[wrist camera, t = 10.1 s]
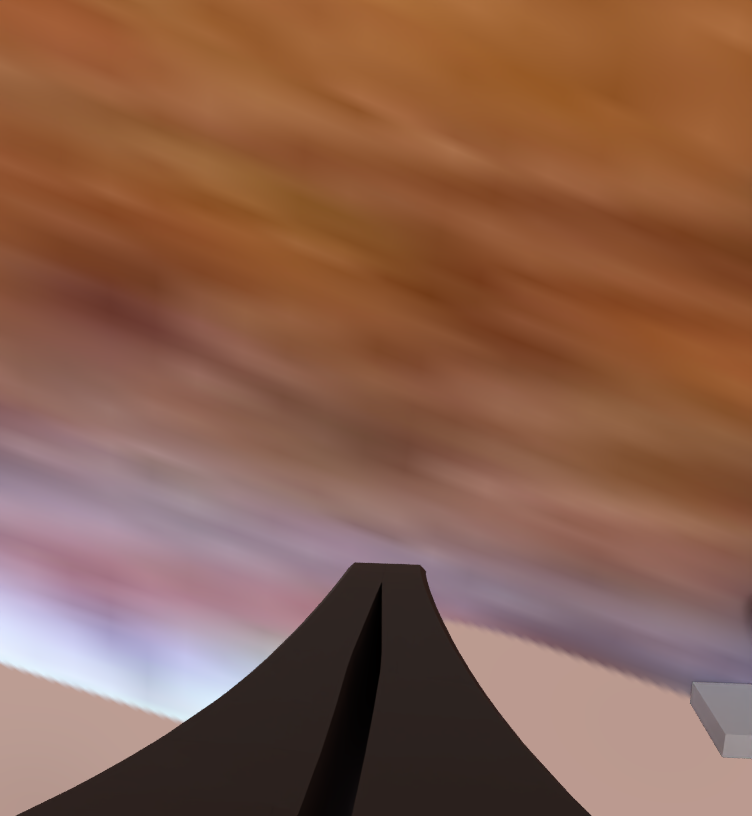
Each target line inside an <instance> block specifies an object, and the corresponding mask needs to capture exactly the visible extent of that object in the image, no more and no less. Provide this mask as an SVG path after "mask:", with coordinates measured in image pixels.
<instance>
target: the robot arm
mask: <svg viewBox="0 0 752 816" xmlns="http://www.w3.org/2000/svg"><path fill="white" fill-rule="evenodd" d="M17 816H591V815H590V814H589V813H588V812H587V811H586V810H585V809H584V808H583V807H582V806H581V805H580V804H579V803H578V802H577V801H576V800H575V799H574V798H573V797H572V796H571V795H570V794H569V793H568V792H567V791H566V789H565V788H564V787H563V786H562V785H561V784H560V783H559V782H558V781H557V780H556V779H555V777H554V776H553V775H552V774H551V773H550V772H549V771H548V770H547V769H546V768H545V766H544V765H543V764H542V763H541V762H540V761H539V760H538V759H537V758H536V757H535V756H534V755H533V753H532V752H531V751H530V750H529V749H528V748H527V747H526V746H525V745H524V743H523V742H522V741H521V740H520V738H519V737H518V736H517V735H516V733H515V732H514V731H513V730H512V729H511V727H510V726H509V724H508V723H507V722H506V721H505V719H504V718H503V717H502V716H501V714H500V713H499V712H498V710H497V709H496V708H495V706H494V705H493V703H492V702H491V701H490V699H489V698H488V697H487V695H486V694H485V692H484V691H483V689H482V688H481V687H480V685H479V683H478V682H477V680H476V679H475V677H474V676H473V674H472V673H471V671H470V670H469V668H468V666H467V664H466V663H465V661H464V659H463V658H462V656H461V654H460V653H459V651H458V649H457V647H456V646H455V644H454V642H453V640H452V638H451V636H450V634H449V632H448V630H447V628H446V626H445V624H444V622H443V620H442V618H441V616H440V614H439V612H438V609H437V607H436V605H435V602H434V600H433V597H432V595H431V592H430V589H429V586H428V582H427V578H426V571H425V570H424V569H423V568H422V567H421V566H420V565H409V564H381V563H354V564H353V565H352V566H350V567H349V568H348V570H347V571H346V572H345V574H344V575H343V576H342V577H341V579H340V580H339V581H338V583H337V584H336V585H335V586H334V587H333V589H332V590H331V591H330V592H329V594H328V595H327V596H326V597H325V598H324V599H323V601H322V602H321V603H320V604H319V605H318V606H317V607H316V609H315V610H314V611H313V612H312V613H311V614H310V615H309V616H308V617H307V618H306V620H305V621H304V622H303V623H302V624H301V625H300V626H299V627H298V628H297V629H296V630H295V631H294V632H293V633H292V634H291V635H290V636H289V637H288V638H287V639H286V640H285V641H284V642H283V643H282V644H281V645H280V646H279V647H278V648H277V649H276V650H275V651H274V652H273V653H272V654H271V655H270V656H269V657H268V658H267V659H266V660H264V661H263V662H262V663H261V664H260V665H259V666H258V667H257V668H256V669H254V670H253V671H252V672H251V673H250V674H249V675H247V676H246V677H245V678H244V679H243V680H241V681H240V682H239V683H238V684H237V685H235V686H234V687H233V688H232V689H230V690H229V691H228V692H227V693H225V694H224V695H223V696H221V697H220V698H219V699H217V700H216V701H214V702H213V703H211V704H210V705H209V706H207V707H206V708H204V709H203V710H201V711H200V712H198V713H197V714H195V715H194V716H192V717H191V718H190V719H188V720H187V721H185V722H184V723H182V724H181V725H179V726H178V727H176V728H175V729H174V730H172V731H171V732H169V733H168V734H166V735H165V736H163V737H161V738H160V739H159V740H157V741H155V742H154V743H152V744H150V745H148V746H147V747H145V748H143V749H142V750H140V751H138V752H137V753H135V754H134V755H132V756H130V757H128V758H127V759H125V760H123V761H121V762H120V763H118V764H116V765H114V766H112V767H111V768H109V769H107V770H105V771H103V772H102V773H100V774H98V775H96V776H95V777H93V778H91V779H89V780H87V781H85V782H83V783H81V784H79V785H77V786H76V787H74V788H72V789H70V790H68V791H66V792H64V793H62V794H59V795H57V796H55V797H54V798H51V799H49V800H47V801H45V802H43V803H41V804H39V805H37V806H35V807H33V808H31V809H29V810H27V811H25V812H22V813H20V814H18V815H17Z"/></svg>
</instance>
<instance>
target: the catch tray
mask: <svg viewBox="0 0 752 816" xmlns="http://www.w3.org/2000/svg"><path fill="white" fill-rule="evenodd" d="M690 704H691V705H692V707H693V709H694V710H695V712H696V714H697V716H698V717H699V719H700V721H701V722H702V724H703V726H704V727H705V729H706V731H707V732H708V734H709V736H710V737H711V739H712V741H713V742H714V744H715V746H716V748H717V749H718V751H719V753H720V754H721V756H722V757H727V758H747V759H752V684H734V683H706V682H693V683H692V691H691V699H690Z"/></svg>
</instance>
